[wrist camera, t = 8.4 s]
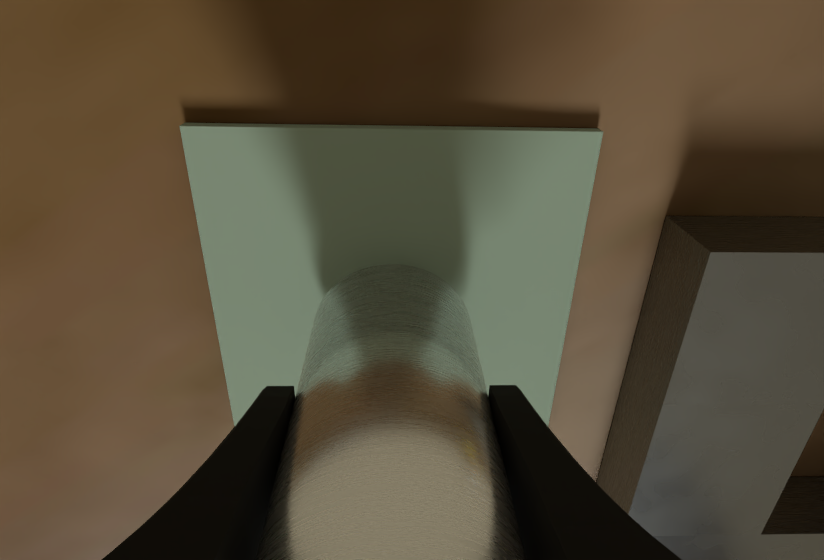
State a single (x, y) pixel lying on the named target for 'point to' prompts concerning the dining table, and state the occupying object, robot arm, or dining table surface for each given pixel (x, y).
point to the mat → (390, 234)
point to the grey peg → (391, 433)
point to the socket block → (725, 391)
